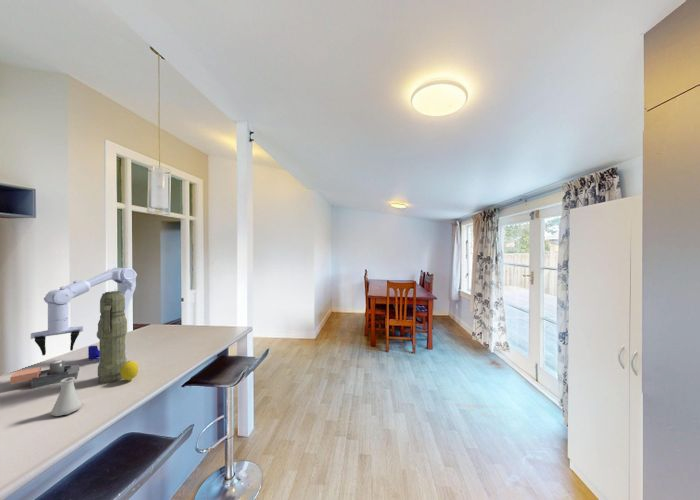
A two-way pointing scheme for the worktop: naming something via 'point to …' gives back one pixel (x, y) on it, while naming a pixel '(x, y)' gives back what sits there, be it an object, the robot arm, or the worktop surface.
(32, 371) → the orange square block
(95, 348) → the blue notched block
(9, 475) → the worktop surface
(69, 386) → the flask
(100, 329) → the green stone statue
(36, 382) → the socket plate
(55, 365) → the plug
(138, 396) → the worktop surface
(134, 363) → the lemon
